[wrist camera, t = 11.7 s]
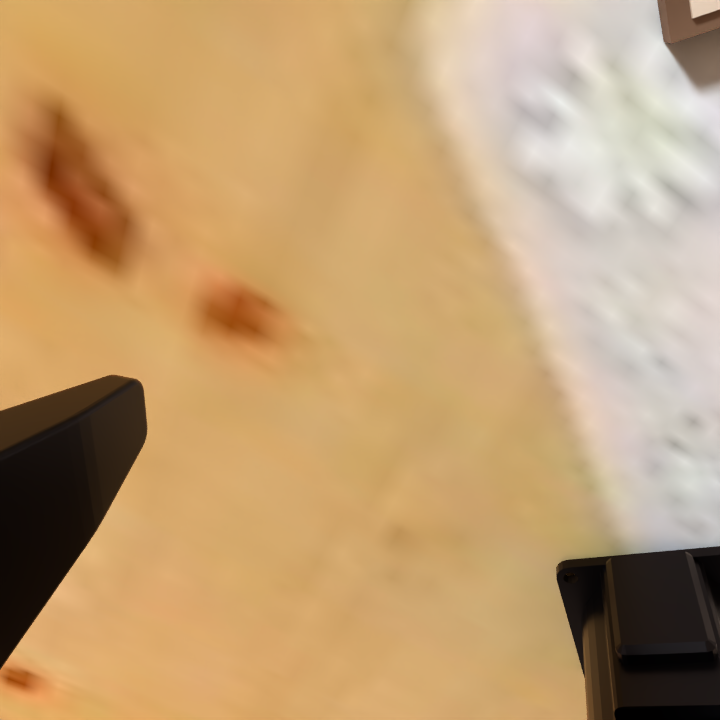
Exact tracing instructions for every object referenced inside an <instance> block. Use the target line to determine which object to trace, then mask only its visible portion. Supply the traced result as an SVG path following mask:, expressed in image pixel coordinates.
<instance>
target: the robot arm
mask: <svg viewBox="0 0 720 720" xmlns="http://www.w3.org/2000/svg"><path fill="white" fill-rule="evenodd" d="M146 436H147V419H146V409H145V398H144V390H143V386H142V384H141V382H140V381H138V380H137V379H133V378H128V377H123V376H118V375H109V376H106V377H103V378H100V379H97V380H94V381H91V382H88V383H84V384H81V385H78V386H75V387H72V388H69V389H66V390H63V391H60V392H57V393H54V394H51V395H48V396H45V397H42V398H39V399H35V400H32V401H29V402H26V403H23V404H20V405H17V406H14V407H11V408H8V409H5V410H2V411H0V669H1V668H2V666H3V665H4V663H5V662H6V661H7V659H8V658H9V656H10V655H11V653H12V652H13V650H14V649H15V648H16V646H17V645H18V643H19V642H20V640H21V639H22V638H23V636H24V635H25V633H26V632H27V630H28V629H29V628H30V626H31V625H32V623H33V622H34V620H35V619H36V617H37V616H38V615H39V613H40V612H41V610H42V609H43V607H44V606H45V605H46V603H47V602H48V600H49V599H50V597H51V596H52V594H53V593H54V592H55V590H56V589H57V587H58V586H59V584H60V583H61V582H62V580H63V579H64V577H65V576H66V574H67V573H68V572H69V570H70V569H71V567H72V566H73V564H74V563H75V561H76V560H77V559H78V557H79V556H80V554H81V553H82V551H83V550H84V549H85V547H86V546H87V544H88V543H89V541H90V540H91V538H92V537H93V535H94V534H95V532H96V531H97V529H98V527H99V525H100V524H101V522H102V520H103V519H104V517H105V515H106V513H107V511H108V510H109V508H110V506H111V504H112V502H113V500H114V498H115V497H116V495H117V493H118V491H119V489H120V487H121V486H122V484H123V482H124V480H125V478H126V476H127V475H128V473H129V471H130V469H131V467H132V465H133V464H134V462H135V460H136V458H137V456H138V454H139V453H140V451H141V449H142V447H143V445H144V443H145V440H146ZM556 571H557V582H558V586H559V589H560V593H561V596H562V600H563V603H564V607H565V610H566V614H567V617H568V621H569V624H570V628H571V631H572V635H573V638H574V642H575V645H576V649H577V653H578V656H579V660H580V663H581V667H582V670H583V674H584V677H585V688H586V704H587V720H720V546H719V547H707V548H696V549H685V550H674V551H663V552H651V553H640V554H629V555H618V556H607V557H596V558H584V559H573V560H565V561H562V562H561V563H559V564H558V566H557V567H556ZM567 573H574V574H575V575H573V576H569V575H566V574H567Z"/></svg>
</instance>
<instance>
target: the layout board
mask: <svg viewBox="0 0 720 720" xmlns="http://www.w3.org/2000/svg"><path fill="white" fill-rule="evenodd" d="M657 1H658V7H659V14H660V20H661V27H662V33H663V40H664V42H667V43H671V44H672V43H675V42H678V41H681V40H684V39H687V38H690V37H693V36H696V35H699V34H702V33H705V32H708V31H711V30H715V29H718V28H720V0H657Z"/></svg>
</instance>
